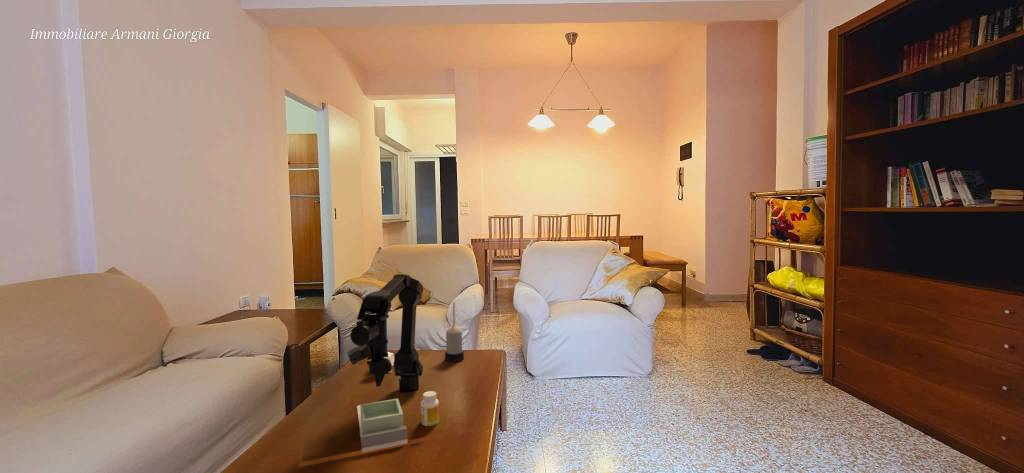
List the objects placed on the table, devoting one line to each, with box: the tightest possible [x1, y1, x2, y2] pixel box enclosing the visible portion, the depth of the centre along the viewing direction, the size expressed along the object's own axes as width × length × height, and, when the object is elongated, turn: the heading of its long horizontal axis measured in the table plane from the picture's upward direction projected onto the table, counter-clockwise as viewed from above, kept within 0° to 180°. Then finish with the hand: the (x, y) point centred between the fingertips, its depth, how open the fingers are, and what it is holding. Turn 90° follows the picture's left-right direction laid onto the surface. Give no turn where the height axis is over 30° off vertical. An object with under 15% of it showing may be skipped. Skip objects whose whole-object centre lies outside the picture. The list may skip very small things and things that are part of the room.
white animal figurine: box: [384, 351, 395, 374], centre depth 176 cm, size 9×8×15 cm
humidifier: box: [444, 302, 465, 363], centre depth 189 cm, size 8×8×25 cm
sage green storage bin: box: [359, 398, 404, 433], centre depth 128 cm, size 11×11×6 cm
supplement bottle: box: [420, 390, 440, 427], centre depth 132 cm, size 5×5×10 cm
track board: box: [356, 404, 408, 454], centre depth 132 cm, size 12×28×4 cm, turn 22°
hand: (378, 386), depth 133 cm, fingers closed
